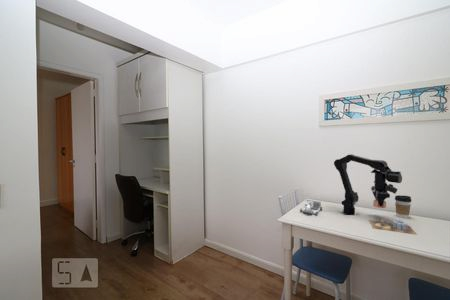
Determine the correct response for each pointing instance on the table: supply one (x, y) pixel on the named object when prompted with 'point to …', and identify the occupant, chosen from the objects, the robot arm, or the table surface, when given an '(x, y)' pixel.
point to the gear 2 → (400, 225)
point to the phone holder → (312, 207)
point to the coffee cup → (402, 206)
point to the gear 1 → (376, 204)
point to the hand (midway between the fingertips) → (379, 204)
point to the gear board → (390, 227)
